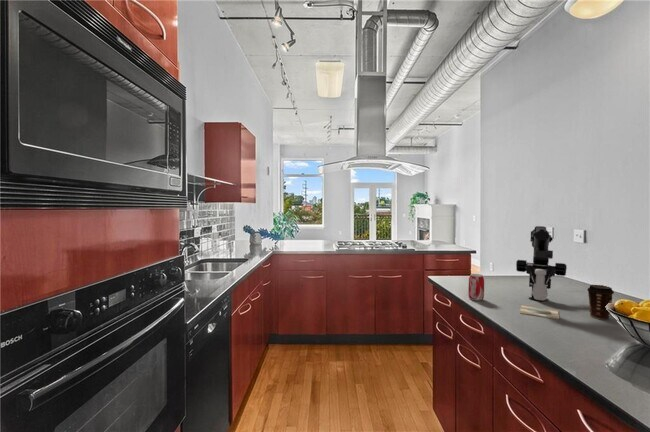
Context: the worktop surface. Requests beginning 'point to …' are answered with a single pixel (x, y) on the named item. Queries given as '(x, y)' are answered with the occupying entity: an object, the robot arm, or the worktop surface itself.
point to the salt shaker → (540, 285)
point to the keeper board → (539, 312)
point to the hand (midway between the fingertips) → (540, 283)
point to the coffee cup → (599, 300)
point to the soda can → (476, 287)
